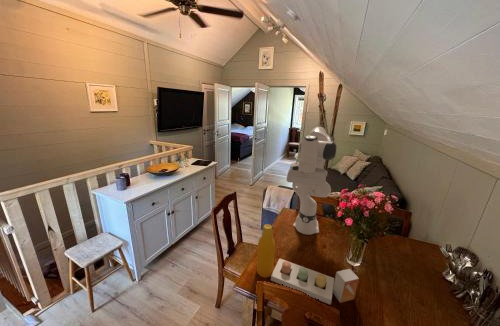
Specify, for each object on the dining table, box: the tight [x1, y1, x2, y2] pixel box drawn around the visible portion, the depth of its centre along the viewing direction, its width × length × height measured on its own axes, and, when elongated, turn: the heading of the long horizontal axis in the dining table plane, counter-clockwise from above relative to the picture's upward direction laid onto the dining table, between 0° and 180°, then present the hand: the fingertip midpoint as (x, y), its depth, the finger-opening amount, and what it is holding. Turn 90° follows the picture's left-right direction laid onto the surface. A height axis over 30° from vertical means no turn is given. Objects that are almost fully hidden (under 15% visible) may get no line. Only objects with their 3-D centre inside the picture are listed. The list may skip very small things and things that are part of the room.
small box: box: [332, 268, 360, 304], centre depth 101 cm, size 8×6×13 cm
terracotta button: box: [281, 260, 291, 276], centre depth 113 cm, size 5×5×4 cm
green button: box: [297, 266, 308, 282], centre depth 109 cm, size 5×5×4 cm
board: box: [270, 258, 335, 306], centre depth 110 cm, size 14×30×3 cm, turn 64°
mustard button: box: [315, 273, 326, 289], centre depth 105 cm, size 5×5×4 cm
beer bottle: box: [256, 223, 276, 279], centre depth 112 cm, size 9×9×29 cm
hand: (304, 191), depth 114 cm, fingers open, 8 cm apart
